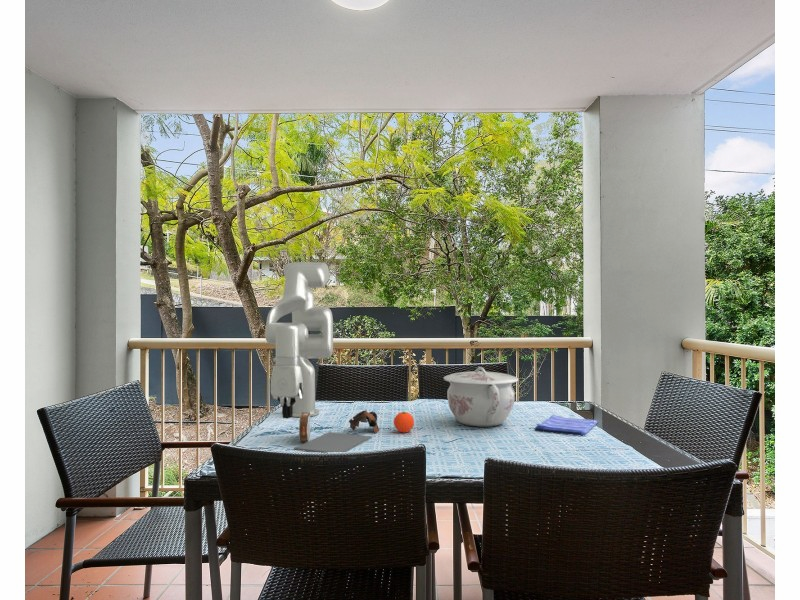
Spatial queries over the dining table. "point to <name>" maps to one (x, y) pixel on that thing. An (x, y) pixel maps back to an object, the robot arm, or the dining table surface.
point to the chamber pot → (481, 397)
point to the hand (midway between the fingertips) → (287, 417)
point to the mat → (333, 442)
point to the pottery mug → (365, 420)
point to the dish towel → (566, 425)
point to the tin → (304, 427)
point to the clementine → (403, 422)
